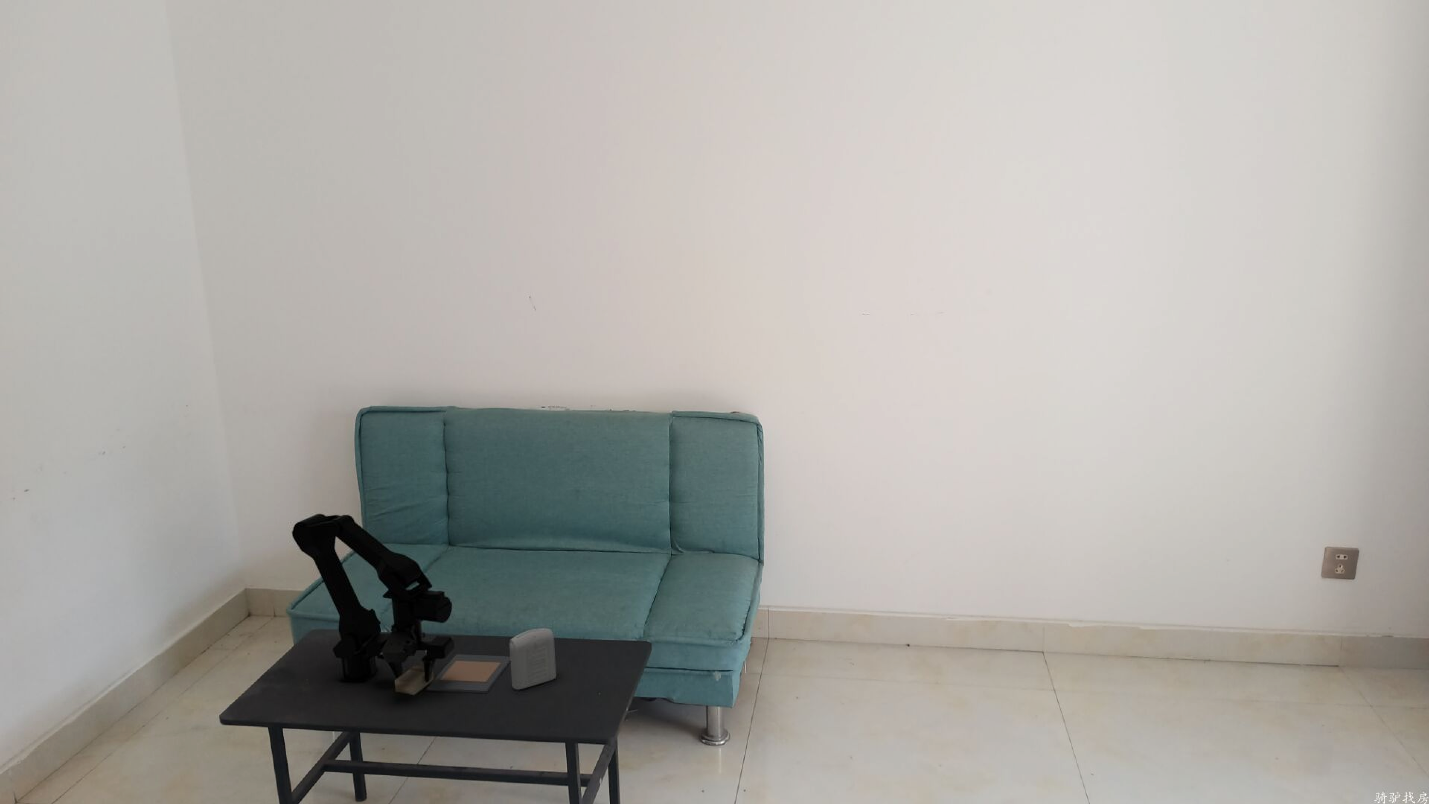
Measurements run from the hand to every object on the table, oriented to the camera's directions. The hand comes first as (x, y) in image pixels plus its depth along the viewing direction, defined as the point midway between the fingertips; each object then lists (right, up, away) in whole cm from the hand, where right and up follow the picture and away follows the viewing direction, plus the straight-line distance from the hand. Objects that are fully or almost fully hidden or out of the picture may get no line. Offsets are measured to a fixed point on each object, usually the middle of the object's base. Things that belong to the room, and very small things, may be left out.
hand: (413, 680), depth 212 cm
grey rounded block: (+27, 0, 0) cm, 27 cm away
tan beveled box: (0, -1, 0) cm, 1 cm away
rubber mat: (+12, 0, +4) cm, 13 cm away
